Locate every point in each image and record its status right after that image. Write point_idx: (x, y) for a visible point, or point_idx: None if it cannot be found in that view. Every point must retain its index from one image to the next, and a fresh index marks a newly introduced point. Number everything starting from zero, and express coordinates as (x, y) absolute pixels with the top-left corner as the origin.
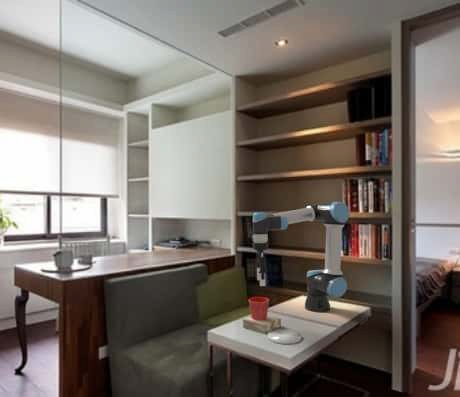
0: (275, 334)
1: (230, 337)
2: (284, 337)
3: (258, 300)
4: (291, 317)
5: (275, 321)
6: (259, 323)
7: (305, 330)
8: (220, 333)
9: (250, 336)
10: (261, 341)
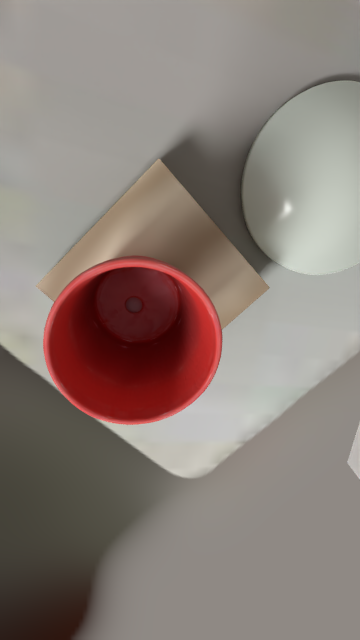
0: (308, 232)
1: (263, 419)
2: (357, 194)
3: (61, 333)
4: None
5: (200, 207)
6: (231, 311)
7: (256, 8)
8: (213, 453)
9: (271, 344)
10: (337, 306)
